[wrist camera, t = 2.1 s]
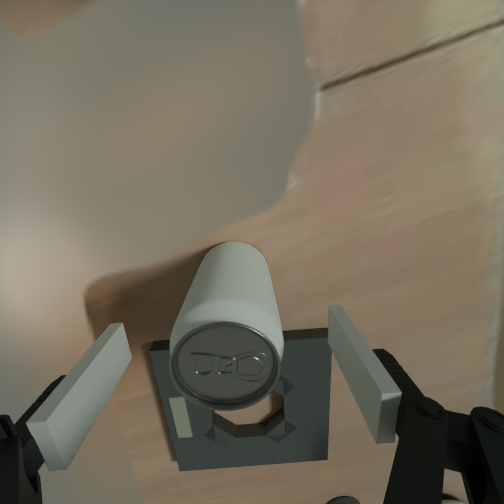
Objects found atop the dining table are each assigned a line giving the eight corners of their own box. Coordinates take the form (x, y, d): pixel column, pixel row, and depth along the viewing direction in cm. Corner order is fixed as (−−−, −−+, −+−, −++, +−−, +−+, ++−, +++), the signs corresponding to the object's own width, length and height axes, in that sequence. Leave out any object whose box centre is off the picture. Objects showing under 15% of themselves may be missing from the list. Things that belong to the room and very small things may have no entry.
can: (265, 304, 25) (281, 418, 14) (199, 300, 25) (162, 415, 14) (271, 242, 23) (297, 318, 12) (200, 237, 23) (156, 311, 12)
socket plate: (154, 341, 26) (148, 352, 25) (327, 327, 26) (332, 338, 25) (182, 457, 32) (179, 473, 31) (323, 446, 32) (328, 461, 31)
